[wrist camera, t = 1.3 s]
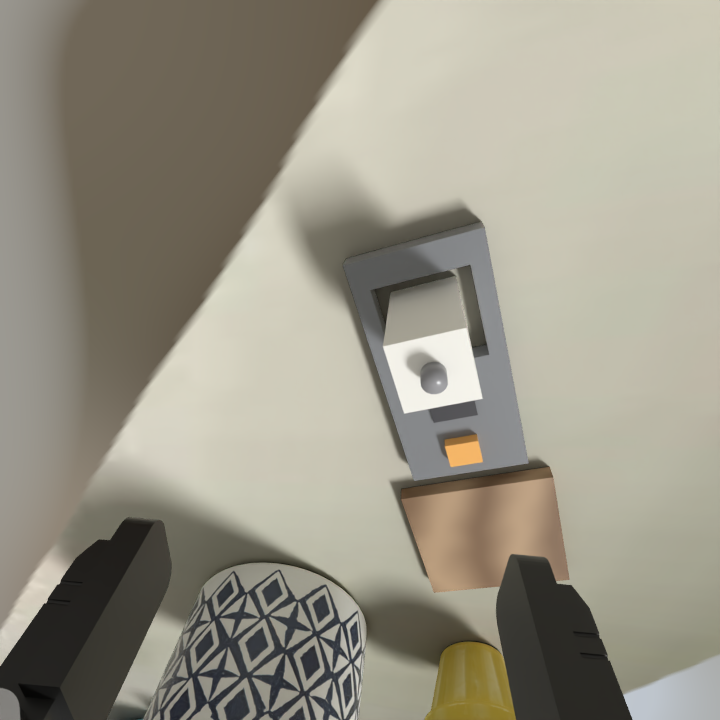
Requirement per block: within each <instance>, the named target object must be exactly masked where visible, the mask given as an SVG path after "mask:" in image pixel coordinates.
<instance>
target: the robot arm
mask: <svg viewBox="0 0 720 720" xmlns="http://www.w3.org/2000/svg"><path fill="white" fill-rule="evenodd" d="M170 576H171V559H170V553H169V548H168V543H167V538H166V533H165V527H164V524H163V522H162V521H161V520H153V519H143V518H132V517H128V518H126V519H125V520H124V521H123V522H122V523H121V525H120V526H119V528H118V529H117V531H116V532H115V534H114V535H113V537H112V538H111V540H98V541H96V542H95V543H94V544H93V545H91V546H90V547H89V548H88V549H86V550H85V551H84V552H83V553H82V554H80V555H79V556H78V557H77V558H76V559H75V560H74V562H73V563H72V565H71V566H70V568H69V569H68V570H67V572H66V573H65V575H64V576H63V578H62V579H61V583H60V584H59V585H57V586H56V588H55V589H54V590H53V592H52V593H51V595H50V596H49V598H48V601H47V603H46V604H45V603H44V605H43V606H42V608H41V609H40V610H39V612H38V613H37V615H36V616H35V618H34V619H33V620H32V622H31V623H30V625H29V626H28V628H27V629H26V630H25V632H24V633H23V635H22V636H21V638H20V639H19V640H18V642H17V643H16V645H15V646H14V648H13V649H12V650H11V652H10V653H9V655H8V656H7V658H6V659H5V660H4V662H3V663H2V665H1V666H0V720H106V719H107V717H108V715H109V713H110V711H111V708H112V706H113V704H114V702H115V700H116V698H117V696H118V693H119V691H120V689H121V687H122V685H123V683H124V681H125V678H126V676H127V674H128V672H129V670H130V668H131V666H132V664H133V661H134V659H135V657H136V655H137V653H138V651H139V649H140V646H141V644H142V642H143V640H144V638H145V636H146V634H147V631H148V629H149V627H150V625H151V623H152V621H153V619H154V617H155V614H156V612H157V610H158V608H159V606H160V604H161V602H162V599H163V597H164V595H165V593H166V591H167V588H168V585H169V581H170ZM496 617H497V625H498V631H499V636H500V641H501V646H502V651H503V656H504V661H505V666H506V671H507V676H508V682H509V687H510V692H511V697H512V702H513V707H514V712H515V717H516V720H632V717H631V715H630V712H629V710H628V707H627V704H626V702H625V699H624V696H623V694H622V691H621V689H620V686H619V684H618V681H617V678H616V676H615V673H614V671H613V668H612V665H611V663H610V661H608V658H607V652H606V650H605V647H604V645H603V642H602V639H600V638H599V632H598V629H597V626H596V624H595V621H594V619H593V616H592V614H591V611H590V608H589V607H588V606H587V604H586V603H585V602H584V601H583V599H582V598H581V597H580V596H579V594H578V593H577V592H576V590H575V589H574V588H573V587H572V585H563V584H557V583H556V580H555V577H554V574H553V571H552V568H551V565H550V563H549V561H548V559H547V558H546V557H540V556H529V555H518V554H511V555H510V557H509V559H508V562H507V566H506V569H505V572H504V576H503V579H502V582H501V586H500V589H499V592H498V596H497V603H496Z"/></svg>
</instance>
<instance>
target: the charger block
mask: <svg viewBox="0 0 720 720" xmlns="http://www.w3.org/2000/svg"><path fill="white" fill-rule="evenodd" d="M383 348H384V352H385V355H386V358H387V361H388V364H389V367H390V371H391V374H392V377H393V380H394V383H395V386H396V389H397V393H398V396H399V399H400V402H401V405H402V408H403V412H404V414H405V413H410V412H416V411H421V410H426V409H431V408H437V407H442V406H447V405H453V404H458V403H463V402H468V401H474V400H479V399H483V398H482V393H481V389H480V384H479V379H478V374H477V370H476V365H475V360H474V355H473V350H472V346H471V341H470V336H469V332H468V327H467V323H466V318H465V314H464V309H463V305H462V300H461V296H460V291H459V287H458V282H457V278H456V276H453V277H449V278H445V279H441V280H437V281H433V282H429V283H425V284H421V285H417V286H413V287H409V288H405V289H401V290H397V291H393V292H391V293H390V300H389V307H388V314H387V321H386V328H385V335H384V342H383Z"/></svg>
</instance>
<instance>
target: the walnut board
mask: <svg viewBox="0 0 720 720" xmlns="http://www.w3.org/2000/svg"><path fill="white" fill-rule="evenodd" d="M401 501H402V503H403V506H404V509H405V512H406V515H407V518H408V520H409V523H410V526H411V529H412V532H413V535H414V537H415V540H416V543H417V546H418V549H419V551H420V554H421V557H422V560H423V563H424V566H425V568H426V571H427V574H428V577H429V580H430V582H431V585H432V588H433V591H434V593H435V592H446V591H456V590H467V589H477V588H487V587H498V586H501V582H502V579H503V576H504V572H505V569H506V566H507V562H508V559H509V557H510V555H511V554H518V555H529V556H540V557H546V558H547V559H548V561H549V563H550V565H551V568H552V571H553V574H554V577H555V580H556V581H560V580H569V573H568V567H567V561H566V555H565V548H564V542H563V536H562V529H561V523H560V517H559V511H558V504H557V498H556V492H555V486H554V479H553V475H552V473H551V470H550V467H544V468H537V469H531V470H524V471H517V472H511V473H504V474H497V475H491V476H484V477H477V478H471V479H464V480H457V481H451V482H444V483H437V484H431V485H424V486H417V487H411V488H404V489H401Z"/></svg>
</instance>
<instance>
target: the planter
mask: <svg viewBox="0 0 720 720" xmlns="http://www.w3.org/2000/svg"><path fill="white" fill-rule="evenodd" d="M366 636H367V628H366V622H365V619H364V615H363V613H362V612H361V610H360V608H359V606H358V605H357V604H356V602H355V601H354V600H353V599H352V597H351V596H349V595H348V594H347V593H346V592H345V591H344V590H343V589H342V588H340V587H339V586H337V585H336V584H334V583H333V582H332V581H330V580H328V579H326V578H324V577H322V576H320V575H318V574H316V573H313V572H311V571H308V570H305V569H302V568H298V567H295V566H290V565H285V564H279V563H265V562H264V563H248V564H242V565H237V566H234V567H231V568H227V569H225V570H223V571H221V572H219V573H217V574H216V575H214V576H213V577H212V578H210V579H209V580H208V581H207V582H206V583H205V585H204V586H203V587H202V589H201V591H200V593H199V595H198V597H197V599H196V602H195V604H194V606H193V608H192V610H191V613H190V615H189V617H188V619H187V622H186V624H185V626H184V628H183V631H182V633H181V635H180V637H179V640H178V642H177V644H176V646H175V649H174V651H173V653H172V655H171V658H170V660H169V662H168V664H167V667H166V669H165V671H164V673H163V676H162V678H161V680H160V682H159V685H158V687H157V689H156V692H155V694H154V696H153V698H152V701H151V703H150V705H149V707H148V710H147V712H146V714H145V717H144V719H143V720H359V710H360V700H361V689H362V679H363V669H364V658H365V648H366Z"/></svg>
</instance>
